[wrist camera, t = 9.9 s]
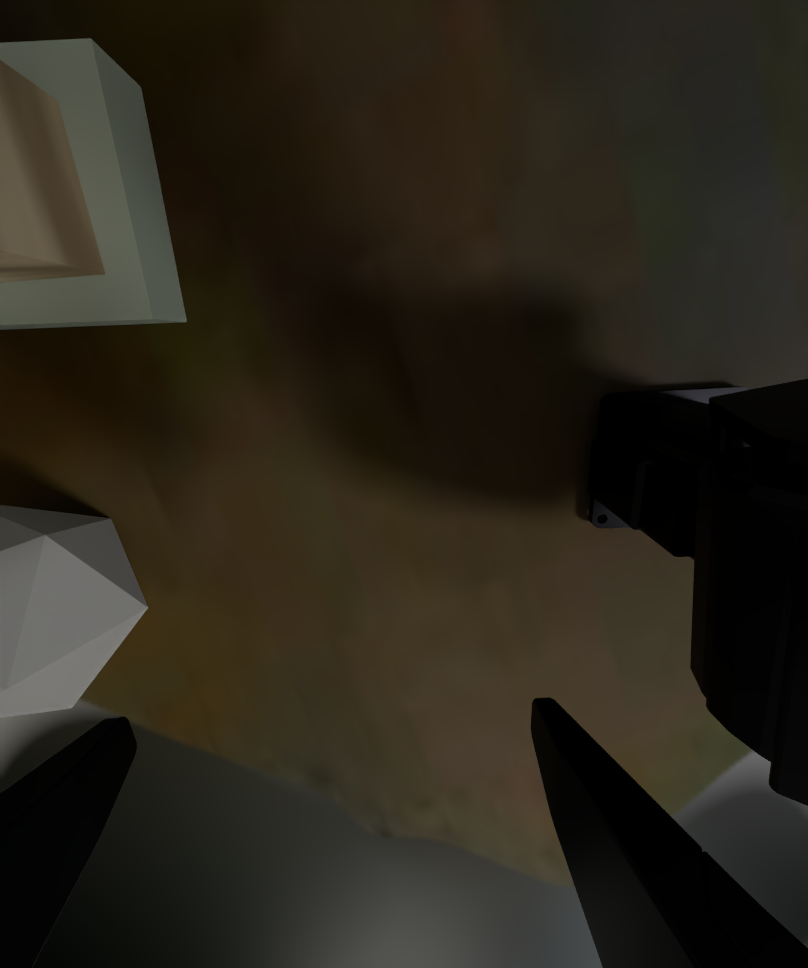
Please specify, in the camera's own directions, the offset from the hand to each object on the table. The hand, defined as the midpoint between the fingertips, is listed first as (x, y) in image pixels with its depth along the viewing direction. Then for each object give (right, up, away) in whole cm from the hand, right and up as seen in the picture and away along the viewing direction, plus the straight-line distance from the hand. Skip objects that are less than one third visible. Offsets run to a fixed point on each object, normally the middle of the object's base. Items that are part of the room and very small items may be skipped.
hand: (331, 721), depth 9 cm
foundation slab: (-12, +16, +8) cm, 21 cm away
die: (-15, +1, +12) cm, 20 cm away
